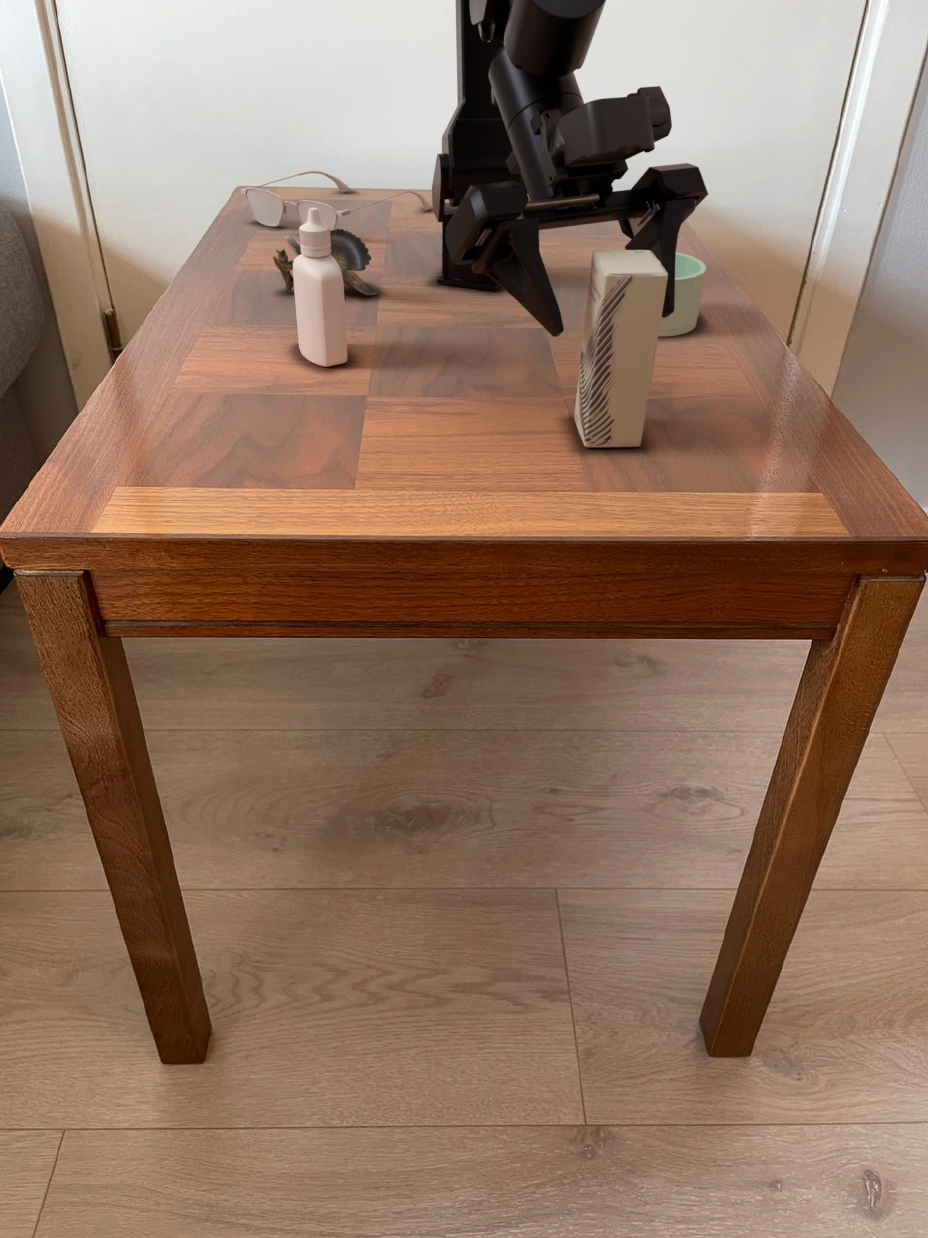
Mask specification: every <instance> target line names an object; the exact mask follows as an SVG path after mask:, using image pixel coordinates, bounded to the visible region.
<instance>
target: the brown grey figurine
mask: <svg viewBox="0 0 928 1238" xmlns="http://www.w3.org/2000/svg"><path fill="white" fill-rule="evenodd" d="M284 239H285V242H286V243H287V244H288V247H289V249H290V250H292V252H293V253H294V254H295V255H296V257H297V256H299V255H301V254H302V253H301V247H300V243H298V242H297V241H296V240H295V239H294V238H293V237H292V236H291V235H286V236H285V238H284ZM330 239H331V253H330V254H331V255H332V257H333V258H334V259H335V260H336V261H337V263H338V264H339V266H340V268H341V271H342V275H343V284H347V285H348V286H350V287H352V288H353V289H355V290H357V291H358V292H360V293H361V294H363V295H365V296H371V297H372V296H377V293H378V291H377V290H376V288H375V287H373V286H371V285H370V284H368V283H367V282H366V281H365V280H363V279H362V278H361V277H360V276H359V275H358V274H357V273H356V272H362V271H365V270H366V269H367V267H366V266H369V265H370V261H371V260H372V255H371V254H370V253H369V252H370V250H369V248H368V247H367V246H366V243H364V242H363V241H362V238H361V237H358V236H357V235H356V234H354V233H352V232H351V231H348V230H345V229H343V228H335V230H330ZM275 252H276V253H277V256H276V255H273V256H272V259H273V262H274V265H275V266H276V267H277V269H278V270H279V272H280V273H281V276H282V279H283V280H284V284H285V292H286V293H290V292H292V290H293V289H294V280H293V274H291V271H293V262H294V260H289V256H288V255H287V251H286V249H284V248H282V249H281V250H278V249H276V250H275Z"/></svg>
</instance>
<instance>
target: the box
mask: <svg viewBox="0 0 928 1238" xmlns="http://www.w3.org/2000/svg"><path fill="white" fill-rule="evenodd" d="M667 279H668V273H667V272H666V270H665V269H664V267H663V266H662V264H661V262H660V261H659V260H658V259H657V258H656V256H655V255H654V254H653V252H652V251H650V250H626V249H594V250H592V253H591V263H590V271H589V281H588V291H587V299H586V306H585V307H586V308H585V318H584V326H583V335H582V345H581V352H580V362H579V370H578V379H577V389H576V396H575V404H574V416H573V417H574V422H575V425H576V428H577V432H578V435H579V437H580V438H581V441H582V443H583V445H584V447H585V448H636V447H641V445H642V440H643V434H644V426H645V423H646V422H645V421H646V414H647V410H648V403H649V396H650V390H651V385H652V377H653V372H654V367H655V360H656V355H657V347H658V342H659V341H658V340H659V337H658V336H659V329H660V323H661V317H662V311H663V305H664V299H665V293H666V286H667Z"/></svg>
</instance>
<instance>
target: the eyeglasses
mask: <svg viewBox="0 0 928 1238" xmlns="http://www.w3.org/2000/svg"><path fill="white" fill-rule="evenodd" d="M308 174H318V175H323V176H325V177H327V178H328V179H330V181H331V180H332V181H333V182H334V184H335V186H336V187H337V188H338V191H340V192H341V193H346V192H348V191H350V187H349V186H348V185H347V184H346V183H345V182H343V181H342V180H341V179H339V178H338V177H336V176H333V175H332V174H329V173H326V172H324V171H318V170H310V171H304V172H299V173H298V174H293V175H290V176H286V177H283V178H280V179H277V180H273V181H270V182H266V183H263V184H259V185H257V186H253V187H252V186H248V187H244V188H241V189H240V193H241V194H242V195H245V199H246V202H247V205H248V207H249V209H250V212H251V214H252V216H253V218H254V219H255V221H257V222H258V223H259V224H261V225H263V226H267V227H278V226H280V224H281V222H282V220H283V218H284V215H286V216H287V212H288V209H287V208H288V207H287V204H290V205H293V206H295V207H296V213H297V216H298V218H299V222H300V225H303V224H305V223H306V222H307V219H308V210H309V208H317V209H318V212H319V216H320V220H321V222H322V223H324V224H326V225H328V226H329V227H330V230H336V227H337V224H338V219H339V218H338V217H341V218H343V217H346V216H349V215H351V212H354V211H357V210H360V209H363V208H366V207H370V206H373V205H375V204H378V203H381V202H384V201H387V200H389V199H392V198H395V197H399V196H400V195H403V194H409V193H410V194H413V195H415V196H416V197H417V198H418V199H419V200H420V202H421V205H422V208H423V209H424V211H428V210H429V209H431V208H432V205H431V204H430V202H429V201H428V200H427V198H426V197H424V196H423V195H422V194H421V193H418V192H416V191H415V190H411V189H406V190H402V191H400V192H397V193H396V194H394V195H391V196H389V197H386V198H383V199H381V200H378V201H374V202H372V203H369V204H365V205H363V206H360V207H356V208H353V209H348V208H347V209H344V210H336V209H335V208H334V207H333V206H332V205H330V204H327V203H324V202H320V201H316V200H308V199H302V200H299V201H297V203H296V202H295V201H291V200H288V201H287V200H285V201H284V200H283V198H282V197H281V196H280V195H278V194H277V193H275V192H272V191H269V190H266V189H262V188H261V187H264V186H266V185H270V184H273V183H276V182H280V181H284V180H286V179H290V178H293V177H299V176H303V175H308Z"/></svg>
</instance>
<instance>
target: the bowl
mask: <svg viewBox="0 0 928 1238" xmlns="http://www.w3.org/2000/svg"><path fill="white" fill-rule="evenodd" d="M707 268H708V266H706V264H705V263H704V262H703V261H702V260H701V259H698V258H696V257H695V256H692V255H689V254H686V253H681V252H678V251H676V257H675V305H674V312H673V313H672V314H671V315H670V316H669V317H666V318H663V317H661V323H660V329H659V336H658V338H660V337H661V338H662V337H674V336H680V335H684V334H687V333H689V332H691V331H693V330H694V329H695V328H696V326H697V324H698V318H699V315H700V309H701V304H702V299H703V298H702V297H703V292H704V285H705V281H706V274H707Z"/></svg>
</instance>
